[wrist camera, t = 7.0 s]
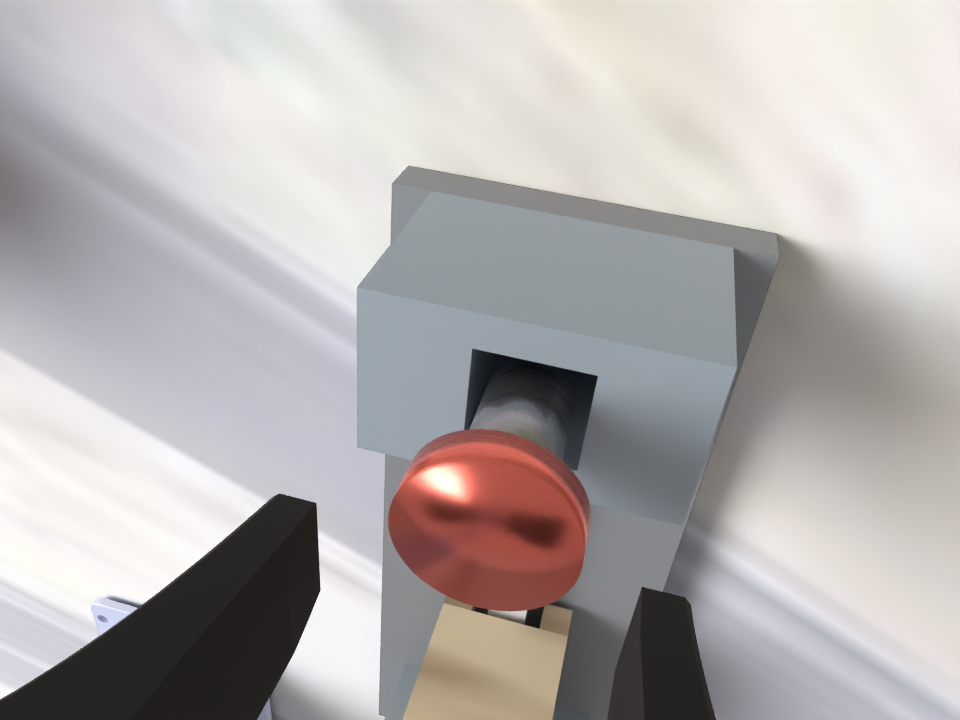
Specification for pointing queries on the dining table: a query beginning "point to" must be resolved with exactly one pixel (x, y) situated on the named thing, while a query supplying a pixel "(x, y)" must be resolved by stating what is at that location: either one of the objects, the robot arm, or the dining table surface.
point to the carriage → (490, 667)
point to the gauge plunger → (498, 499)
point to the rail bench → (577, 358)
